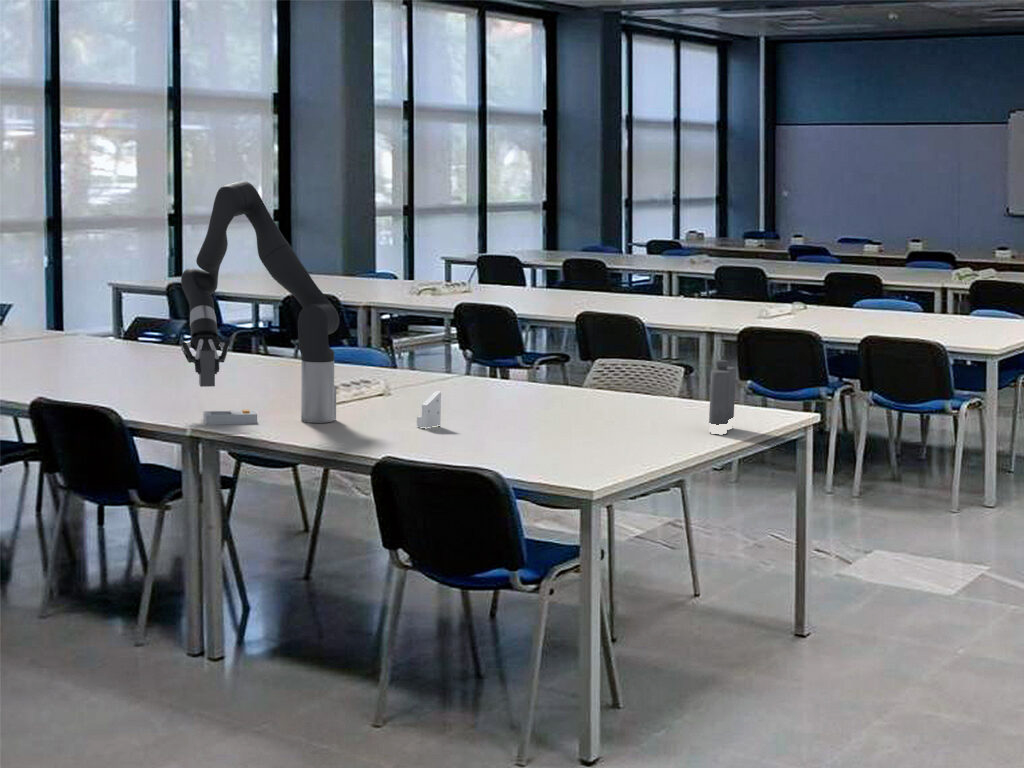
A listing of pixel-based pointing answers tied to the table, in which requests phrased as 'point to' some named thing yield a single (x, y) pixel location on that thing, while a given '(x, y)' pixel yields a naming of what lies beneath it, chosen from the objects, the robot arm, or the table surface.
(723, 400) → the flask
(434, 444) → the table surface
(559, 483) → the table surface
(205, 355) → the plug
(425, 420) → the white angled block
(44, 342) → the table surface
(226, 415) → the power strip
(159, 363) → the table surface
